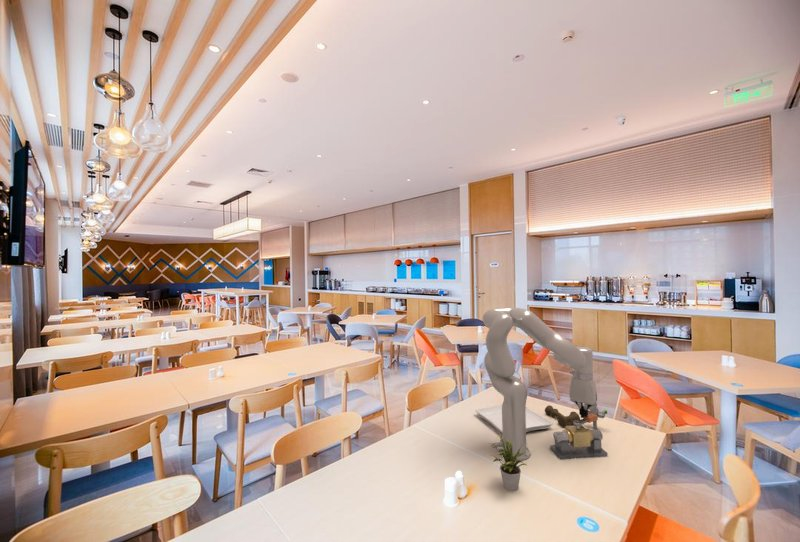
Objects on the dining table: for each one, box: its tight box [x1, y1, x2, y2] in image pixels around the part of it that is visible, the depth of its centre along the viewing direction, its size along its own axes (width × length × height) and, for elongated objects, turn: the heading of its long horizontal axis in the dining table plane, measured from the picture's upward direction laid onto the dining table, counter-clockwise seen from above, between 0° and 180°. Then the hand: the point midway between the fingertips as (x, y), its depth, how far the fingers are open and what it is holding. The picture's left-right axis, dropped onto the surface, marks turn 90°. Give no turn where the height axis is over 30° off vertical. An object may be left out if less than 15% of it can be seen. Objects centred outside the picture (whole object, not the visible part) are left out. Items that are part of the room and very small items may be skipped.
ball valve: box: [549, 424, 608, 460], centre depth 141 cm, size 20×8×11 cm, turn 94°
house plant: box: [488, 434, 528, 492], centre depth 122 cm, size 14×14×16 cm
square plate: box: [474, 404, 554, 434], centre depth 170 cm, size 27×27×4 cm
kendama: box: [544, 404, 581, 428], centre depth 169 cm, size 6×10×20 cm
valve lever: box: [572, 413, 598, 427], centre depth 144 cm, size 14×3×2 cm, turn 121°
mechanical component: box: [583, 405, 608, 430], centre depth 162 cm, size 3×10×10 cm, turn 53°
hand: (583, 417), depth 149 cm, fingers closed
